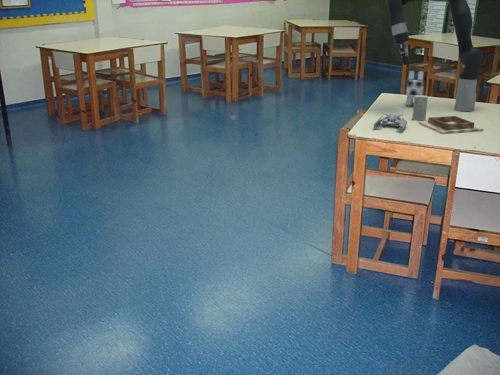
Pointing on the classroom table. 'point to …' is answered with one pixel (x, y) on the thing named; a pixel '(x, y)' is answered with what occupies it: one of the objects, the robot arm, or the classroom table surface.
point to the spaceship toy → (393, 119)
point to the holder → (450, 125)
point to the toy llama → (414, 87)
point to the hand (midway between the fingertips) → (406, 64)
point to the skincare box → (419, 107)
